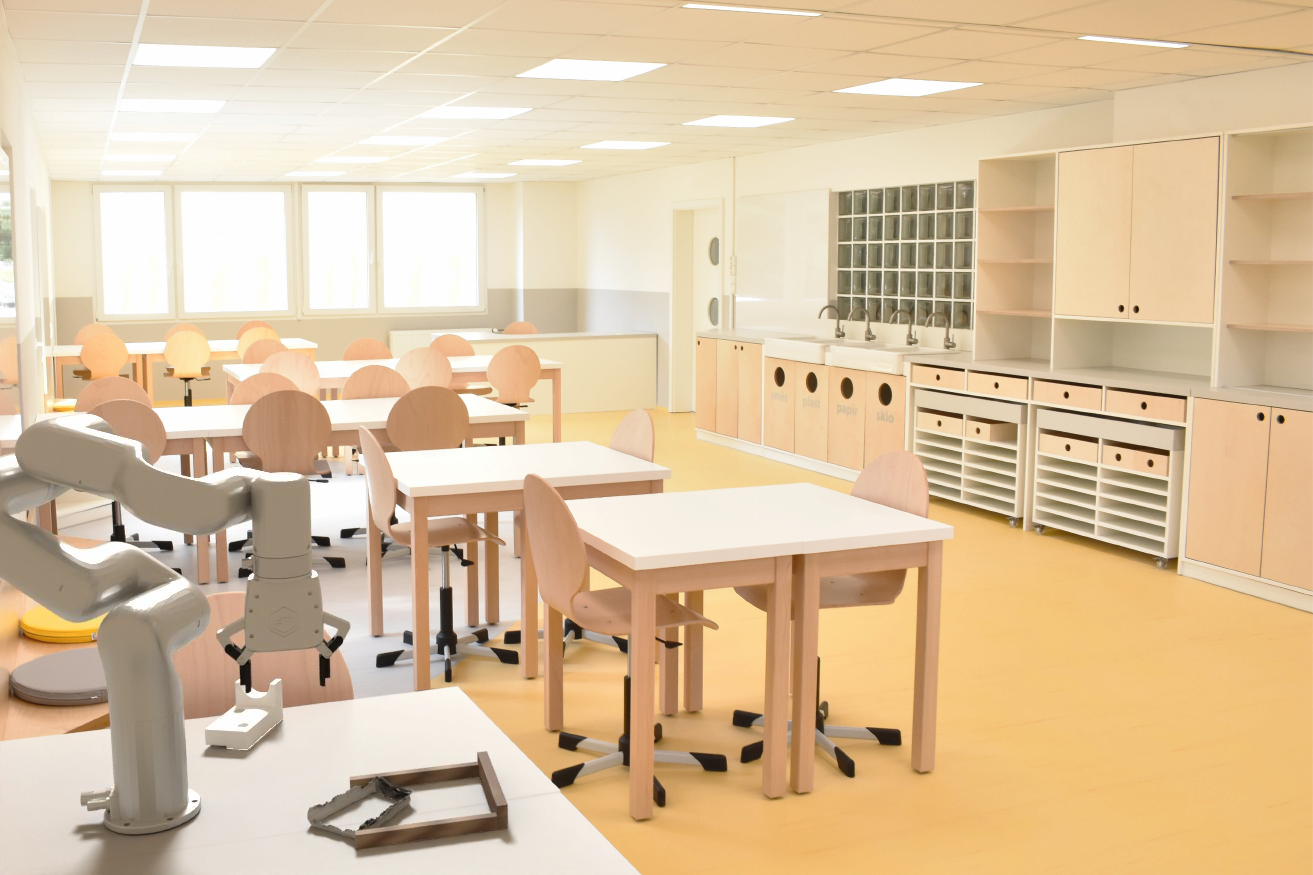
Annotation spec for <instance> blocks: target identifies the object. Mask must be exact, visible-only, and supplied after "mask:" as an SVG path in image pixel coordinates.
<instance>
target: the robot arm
mask: <svg viewBox="0 0 1313 875" xmlns="http://www.w3.org/2000/svg"><path fill="white" fill-rule="evenodd" d="M72 489H73V490H76V491H80V492H84V493H88V494H91V495H95V496H98V497H101V498H104V499H108V500H111V501H115V502H118V503H119V504H120V506H121V507H123V509H124V510H126V511H127V512H129V514H131V515H132V516H133V517H135V518H136V519H139V520H140V521H142V522H143V523H147V524H149V525H151V526H155V527H158V528H162V529H166V530H169V531H173V532H176V533H181V534H186V535H189V536H190V535H191V536H196V537H197V536H199V537H200V536H201V537H202V536H210V535H215V534H218V533H220V532H222V531H225V530H226V529H229V528H231V527H233V526H236V525H237V526H238V525H239V524H243V523H246V522H249V521H251V526H252V529H251V533H252V534H251V536H252V554H251V555H250V556H249V557H247V558H241V568H242V569H247V570H250V571H251V572H253V573H250V574H249V576H248V578H247V582H246V587H245V596H244V615H243V616H242V617H241V618H239V619H236V620H235V621H233V622H231V623H230V624H228V625H226V626H224V627H222V628H221V629H219V630H217V631H216V635H215V637H216V639H217V641H218V642H219V644H220V646H221V647H222V648H223V650H224V653H225V654H227V655H228V656H229V657H230V658H232V659H233V660H234V661H235V662H236V664H237V665H239V679H240V686H241V685H245V691H246V693H250V692H251V688H253V687H252V686H253V684H252V683H253V682H252V677H253V676H252V659H251V657H252V656H253V655H254V653H273V652H275V653H276V652H285V651H286V652H289V651H301V650H312V649H314V648H315V649H316V650H317V652H319V653H318V664H319V665H318V669H319V670H318V672H319V673H318V674H319V678H318V679H319V686H321V688H323V687H326V679H331V658H332V656H333V654H334V653H335V652H336V651H337V650H338V649H339V648H340V647H341V646H342V645H343V643H344V641H345V639H346V637H347V635H348V634H349V631H350V630H351V624H350V621H349V620H346V619H343V618H342V617H338V616H336V615H334V614H332V613H328V612H326V611H324V610H323V609H324V608H323V595H322V587H321V583H320V579H319V575H318V573H317V571H316V570H313V559H312V558H313V554H312V552H313V551H312V550H313V549H312V548H313V547H312V544H313V543H312V508H311V506H312V505H311V504H312V503H311V502H312V501H311V500H312V499H311V484H310V481H309V479H308V478H307V476H305V475H303V474H301V473H297V472H271V473H270V472H266V471H261V470H257V469H253V468H250V467H249V468H248V467H240V466H239V467H238V466H235V467H229V468H226V469H223V470H220V471H216V472H215V471H214V472H212V473H209V474H207V475H203V476H201V477H198V478H194V477H190V476H185V475H181V474H178V473H174V472H170V471H167V470H162V469H159V468H158V467H155V466H153V465H152V456H151V452H150V450H149V449H148V447H147V445H145V444H144V443H143V442H141V441H138V440H134V439H130V438H127V437H123V436H119V435H117V432H116V430H115V429H114V427H113V426H112V425H111V423H109V422H108V421H106V420H105V419H104V418H102V417H100V416H97V415H94V414H90V413H76V414H71V415H66V416H61V417H54V418H50V419H43V420H41V421H37V422H36V423H33V424H32V425H30V426H28V427H27V428H26V429H24V430H23V431H22V432H21V434H20V435H19V436H18V438H17V440H16V442H15V446H14V452H11V453H6V454H3V455H0V579H2V580H3V581H5V582H6V583H8V584H9V585H11V586H12V587H14V589H16V590H18V591H19V592H21V593H22V594H24V595H25V596H27V597H28V598H30V599H32V600H33V601H35V602H36V603H37V604H39V605H41V607H43V608H45V609H46V610H48V611H50V612H51V613H53V614H54V615H55V616H57V617H59V618H61V619H62V620H64V621H67V622H70V623H73V624H81V623H86V622H89V621H91V620H94V619H97V618H99V617H101V616H103V615H105V616H104V617H103V619H102V620H101V622H100V624H99V627H98V630H97V635H96V644H97V651H98V654H99V659H100V661H101V665H102V669H103V672H104V677H105V682H106V689H107V701H108V714H109V715H108V716H109V726H110V728H109V729H110V742H111V743H110V744H111V745H110V746H111V758H112V774H113V785H112V786H107V787H106V788H105V790H90V791H89V790H88V791H82V792H80V793H81V794H80V806H81V807H86V810H87V811H86V812H95V811H99V810H105V811H104V813H103V823H104V826H105V827H106V828H107V829H108V830H110V831H112V832H115V833H119V834H125V835H143V834H144V835H147V834H153V833H160V832H162V831H166V830H170V829H172V828H175V827H178V826H180V825H182V824H185V823H186V822H188V821H190V820H191V819H192V818H193V817H195V816H196V815H198V812H200V810H201V808H202V807H201V806H202V803H201V802H202V799H201V796H200V794H199V793H198V792H196V791H195V790H193V789H190V788H189V781H188V779H189V778H188V776H189V775H188V761H187V758H188V757H187V742H186V741H187V740H186V724H185V723H186V722H185V720H186V719H185V705H184V704H185V703H184V692H183V691H184V690H183V684H182V680H181V678H180V676H179V675H180V674H179V672H178V671H177V669H176V667H175V664H174V662H173V655H174V654H176V653H177V652H178V651H179V650H181V649H183V648H185V647H186V646H188V645H189V644H191V643H193V642H194V641H195V640H197V639H198V638H200V637H201V636H202V635H203V634H204V632H206V630H207V628H208V627H209V625H210V622H211V619H212V610H211V609H212V608H211V605H210V601H209V599H208V598H207V596H206V594H205V593H204V592H203V591H202V589H200V588H199V587H198V586H197V585H196V584H195V583H193V582H192V581H191V580H190V579H188V578H186V577H185V576H184V575H182V574H180V573H179V572H177V571H176V570H174V569H173V568H171V567H169V565H167V564H165V563H164V562H162V561H160V560H159V559H157V558H156V557H154V556H153V555H152V554H149V553H148V552H146V551H145V550H144V549H142V548H140V547H138V546H136V545H133V544H130V543H127V542H123V541H106V542H103V543H100V544H99V543H98V544H96V545H93V546H91V547H88V548H77V547H75V546H73V545H71V544H69V543H67V542H66V541H64V540H62V539H61V538H59V537H58V536H56V534H54V533H52V532H51V531H49V530H47V529H45V528H44V527H42V526H39V525H35V524H33V523H30V522H27V521H24V520H21V519H17V518H15V517H14V516H13V515H17V514H19V513H22V512H25V511H29V510H33V509H35V508H38V507H41V506H43V505H45V504H47V503H49V502H51V501H53V500H55V499H57V498H58V497H60V496H62V495H63V494H65V493H67V492H69V491H71V490H72ZM325 625H327V626H330V627H333V628H334V629H337V631H336V633H335V635H333V637H331V638H330V639H329V641H327V640H326V639H325V638H324V634H325V631H324V630H325V627H324V626H325ZM241 631H243V634H244V645H243V646H242V647H239V646H238V645H237V644H235V643H234V642H233V641H232V639H231V637H232V636H234V635H235V634H238V633H239V632H241Z"/></svg>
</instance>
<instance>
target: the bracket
mask: <svg viewBox="0 0 1313 875" xmlns="http://www.w3.org/2000/svg"><path fill="white" fill-rule="evenodd" d="M234 692H235V705H234V706H233V707H231V708H230V709H229V710H227V711H226V712H225V713H224V714H222V715H221V716H220V717H218V718H217V719H216V720H215V721H214V722H212V723H211V724H210V725H208V726H207V727H206V728H204V736H205V737H204V738H205V741H204V742H205V745H209V746H211V745H212V746H225V747H226V749H227V748H233V749H248V748H249V747H250V746H251V745H253V744H254V743H255V742H256V741H257V740H258V739H259V738H260V737H261V736H263V735H264V734H265V733H266V732H267V731H268V730H269V729H270V728H272V727H273V726H274V725H275V724H277V723H278V722H279V721H280V720H282V719H283V720H284V708H283V707H284V706H283V705H284V704H283V702H284V700H283V682H282V678H275V679H274V680H272V681H271V682H270V683H269V688H268V691H266V692H261V691H257V690H256V689H254V688H253V687H252V688H251V692H250V693H246V691H245V685H241V686H240V678H239V679H238V680H236V681H234ZM283 720H282V721H283Z"/></svg>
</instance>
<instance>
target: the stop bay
mask: <svg viewBox="0 0 1313 875" xmlns="http://www.w3.org/2000/svg"><path fill="white" fill-rule="evenodd" d="M476 753H477V755H476V756H477V757H476V760H477V761H471V762H464V763H463V762H462V763H454V764H453V763H452V764H446V765H445V764H444V765H438V766H429V767H421V768H412V769H405V770H404V769H403V770H394V771H388V772H387V771H385V772H379V773H369V774H364V775H363V774H362V775H361V774H360V775H353V776H349V789H351V788H352V787H354V786H361V787H360V788H362V789H364V788H365V787H366V786H367V785H368V782H372V780H373V779H374V777H375V776H379V777H383V778H384V779H385V780H387V782H389V783H390V785H394V786H399V787H402V788H404V787H410V786H417V785H418V786H419V785H425V784H426V785H427V784H434V783H441V782H449V781H450V782H451V781H457V780H467V779H475V778H478V779H479V782H480V785H481V788H482V790H483V793H484V796H485V799H486V802H487V805H488V807H489V811H490V812H488V813H482V814H481V813H480V814H474V815H467V816H465V815H464V816H459V817H458V816H457V817H453V818H443V819H436V820H435V819H434V820H429V821H428V820H427V821H422V822H421V821H420V822H413V823H405V824H398V825H392V826H391V825H390V826H384V827H378V828H374V829H367V830H359V831H357V830H354V831H355V839H354V842H355V843H354V845H355V850H360V849H368V848H376V847H382V846H383V847H384V846H389V845H397V844H405V843H410V842H412V841H413V842H419V841H427V840H433V839H432V838H434V839H440V837H442V838H447V837H454V836H455V837H456V836H463V835H470V834H476V833H483V832H484V833H485V832H493V831H499V830H505V829H506V830H507V829H508V828H509V808H508V807H509V805H508V802H507V799H506V797H505V794H504V792H503V789H502V786H501V783H500V781H499V778H498V776H497V774H496V770H495V769H494V766H493V765H494V764H493V763H492V761H491V758H490V755H489V752H488V751H487V750H485V751H484V750H483V751H477V752H476Z"/></svg>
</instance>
